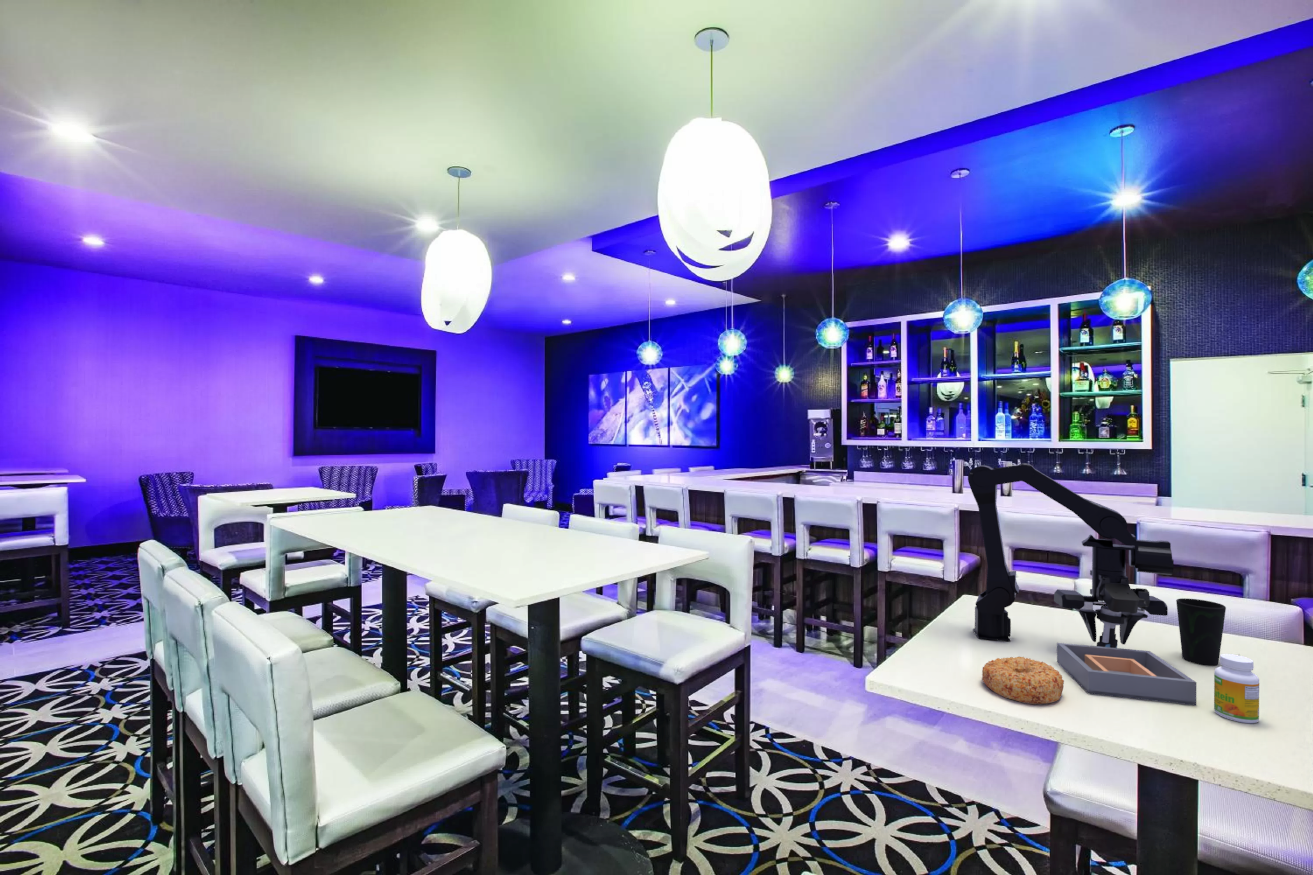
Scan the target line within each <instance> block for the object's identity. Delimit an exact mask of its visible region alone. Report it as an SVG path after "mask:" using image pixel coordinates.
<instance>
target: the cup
mask: <svg viewBox="0 0 1313 875" xmlns="http://www.w3.org/2000/svg"><path fill="white" fill-rule="evenodd" d="M1175 602H1176V611H1177V620H1178V630H1179V638H1180V647H1181V655H1182V659H1183V660H1185V661H1187V662H1189V663H1190V664H1191V663H1192V664H1196V665H1201V666H1206V667H1207V666H1208V667H1218V666H1219V664H1220V655H1221V650H1222V648H1221V647H1222V640H1223V632H1224V624H1225V618H1226V610H1227V607H1226V606H1225V605H1224V604H1221V603H1218V602H1214V601H1210V600H1204V599H1197V598H1183V597H1182V598H1177V599H1176V600H1175Z"/></svg>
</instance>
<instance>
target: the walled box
mask: <svg viewBox="0 0 1313 875" xmlns="http://www.w3.org/2000/svg"><path fill="white" fill-rule="evenodd" d="M1056 663H1057V664H1058V665H1059V666H1060V667H1061V668H1062V669H1063V670H1064V671H1065V672H1066V673H1067V674H1068V675H1069V676H1070V677H1071V678H1072V679H1073V680H1074V681H1075V682H1076V683H1077V684H1078V685H1079V686H1080V687H1081V688H1082V689H1083V690H1084V691H1085V692H1086V693H1087V694H1088V695H1097V696H1098V695H1099V696H1108V697H1115V698H1124V699H1125V698H1126V699H1135V700H1144V701H1152V702H1162V703H1171V704H1177V705H1178V704H1179V705H1180V704H1181V705H1189V706H1197V682H1196V681H1195V680H1193V679H1192V678H1191V677H1189V676H1188V675H1187V674H1185V673H1183V672H1182V671H1181V670H1179V669H1177V668H1176V667H1175V666H1174V665H1172V664H1170V663H1168V662H1167V661H1165V660H1164V659H1162V658H1161V657H1159V656H1158V655H1156V654H1155V653H1153V652H1152V651H1150V650H1142V649H1130V648H1120V647H1119V648H1118V647H1117V648H1110V647H1099V646H1097V645H1085V644H1076V643H1067V642H1066V643H1064V642H1057V643H1056Z"/></svg>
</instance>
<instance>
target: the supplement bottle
mask: <svg viewBox="0 0 1313 875" xmlns="http://www.w3.org/2000/svg"><path fill="white" fill-rule="evenodd" d="M1219 664H1220V665H1221V666H1216V667H1215V669H1214V672H1213V676H1214V677H1213V678H1214V680H1213V682H1214V683H1213V684H1214V686H1213V689H1214V690H1213V710H1214V713H1215V714H1217V715H1218V716H1221V717H1222V718H1225V719H1227V720H1229V721H1230V720H1231V721H1234V722H1237V723H1242V724H1256V723H1258V722H1259V721H1260V678H1259V677H1258V675H1257V674H1255V673H1254V672H1252V671H1253V670H1254V667H1255V666H1254V660H1253V659H1251V658H1249V657H1246V656H1243V655H1240V654H1239V655H1237V654H1232V653H1220V656H1219Z"/></svg>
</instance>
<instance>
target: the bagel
mask: <svg viewBox="0 0 1313 875" xmlns="http://www.w3.org/2000/svg"><path fill="white" fill-rule="evenodd" d="M981 673H982V674H981V676H982V677H981V679H982V681H983V683H984V684H985V686H987V688H989V689H990V690H991V691H992V692H994V693H995V694H997V695H999V696H1002V697H1004V698H1006V699H1009V700H1013V701H1016V702H1020V703H1024V704H1029V705H1042V704H1043V705H1044V704H1050V703H1054V702H1057V701H1058V700H1060V698H1061V697H1062V695H1063V690H1064V684H1065V680H1064V679H1063V675H1062V674H1061V673H1060V671H1058V670H1056V669H1055V667H1054V666H1052V665H1049V664H1047V663H1046V662H1043V661H1040V660H1037V659H1031V658H1028V657H1024V656H1016V657H1014V656H1013V657H1012V656H1011V657H1003V658H999V657H997V658H995V659H991V660H988V662H986V663H985V664H984V666H982V669H981Z"/></svg>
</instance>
